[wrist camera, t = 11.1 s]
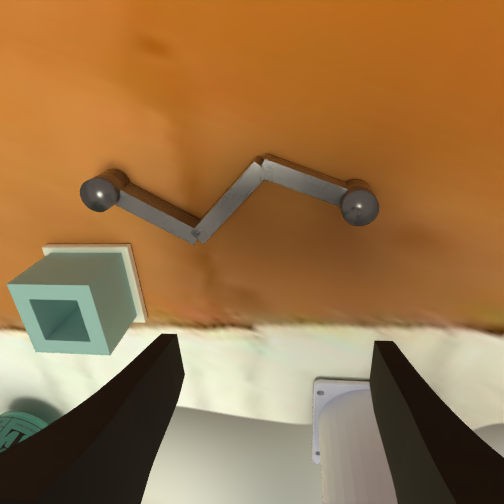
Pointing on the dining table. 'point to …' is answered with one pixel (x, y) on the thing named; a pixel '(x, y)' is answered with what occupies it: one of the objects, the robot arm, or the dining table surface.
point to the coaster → (128, 263)
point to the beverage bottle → (18, 428)
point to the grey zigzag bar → (229, 197)
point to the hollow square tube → (75, 302)
